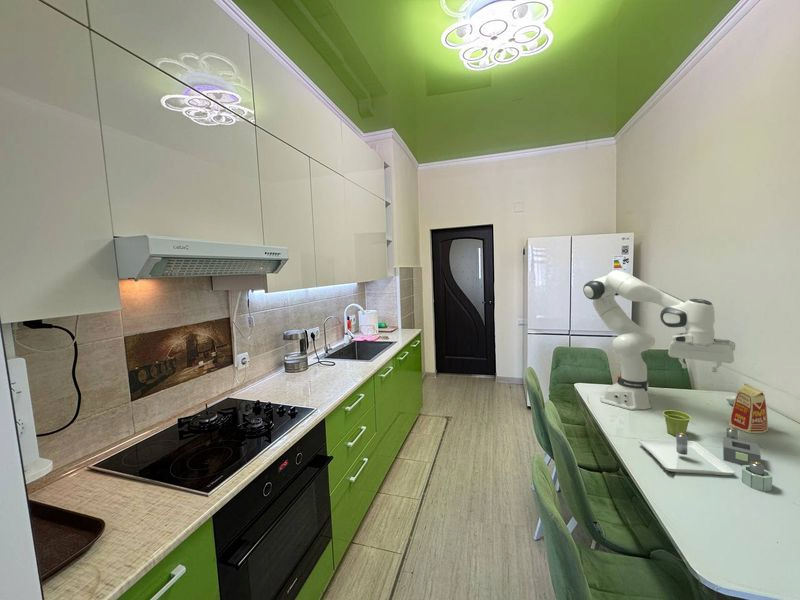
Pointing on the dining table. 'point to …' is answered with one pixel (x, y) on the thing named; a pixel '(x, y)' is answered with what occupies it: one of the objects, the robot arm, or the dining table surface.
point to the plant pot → (676, 421)
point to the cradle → (740, 451)
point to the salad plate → (669, 456)
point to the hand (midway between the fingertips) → (699, 370)
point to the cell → (681, 443)
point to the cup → (757, 479)
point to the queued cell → (732, 433)
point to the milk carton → (749, 410)
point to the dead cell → (757, 468)
